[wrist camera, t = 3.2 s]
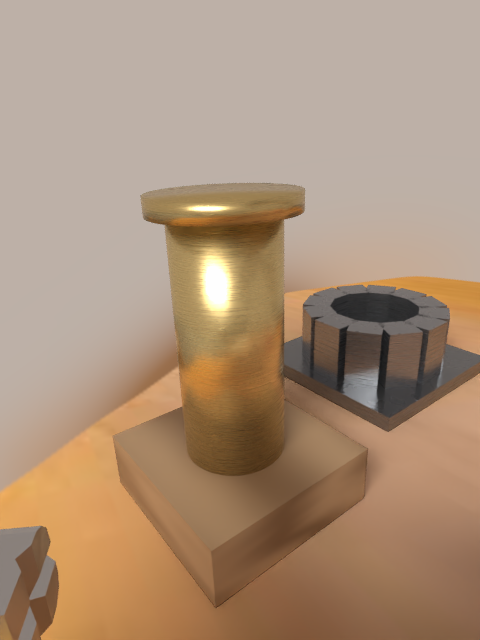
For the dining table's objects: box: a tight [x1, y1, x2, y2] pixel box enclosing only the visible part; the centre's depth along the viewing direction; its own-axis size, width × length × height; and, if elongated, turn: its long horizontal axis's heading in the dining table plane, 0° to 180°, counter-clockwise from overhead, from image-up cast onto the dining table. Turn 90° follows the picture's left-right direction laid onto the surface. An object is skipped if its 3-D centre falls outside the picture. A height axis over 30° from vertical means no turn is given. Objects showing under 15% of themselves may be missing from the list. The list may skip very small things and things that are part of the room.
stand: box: [113, 399, 368, 607], centre depth 23 cm, size 9×9×3 cm
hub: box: [284, 285, 480, 432], centre depth 34 cm, size 12×12×5 cm
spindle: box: [141, 183, 305, 476], centre depth 20 cm, size 6×6×12 cm
